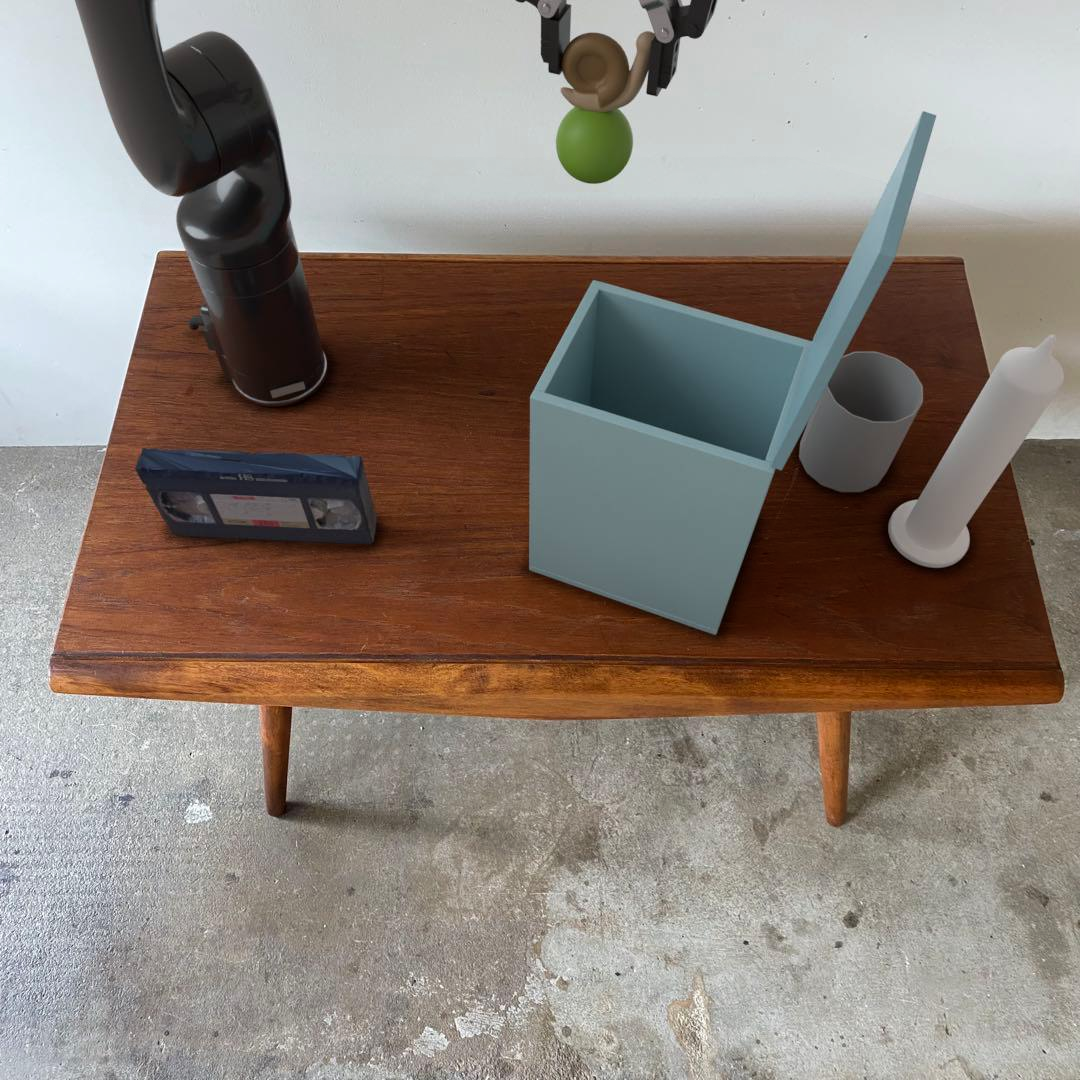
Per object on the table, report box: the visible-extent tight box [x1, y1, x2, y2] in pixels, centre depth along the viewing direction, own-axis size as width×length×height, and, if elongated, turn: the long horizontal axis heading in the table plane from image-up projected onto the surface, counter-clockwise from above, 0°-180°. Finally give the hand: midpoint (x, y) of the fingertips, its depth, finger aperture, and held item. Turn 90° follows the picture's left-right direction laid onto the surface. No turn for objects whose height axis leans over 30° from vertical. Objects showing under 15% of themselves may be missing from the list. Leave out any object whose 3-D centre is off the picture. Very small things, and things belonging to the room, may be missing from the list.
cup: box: [798, 351, 924, 493], centre depth 88 cm, size 8×8×10 cm
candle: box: [887, 333, 1065, 569], centre depth 77 cm, size 7×7×25 cm
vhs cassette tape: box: [134, 447, 378, 545], centre depth 82 cm, size 18×3×10 cm, turn 86°
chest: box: [528, 279, 813, 636], centre depth 77 cm, size 17×13×23 cm
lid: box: [770, 110, 937, 471], centre depth 57 cm, size 18×13×1 cm
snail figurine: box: [555, 30, 655, 185], centre depth 65 cm, size 5×6×12 cm
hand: (606, 77), depth 64 cm, fingers closed on snail figurine, 6 cm apart
